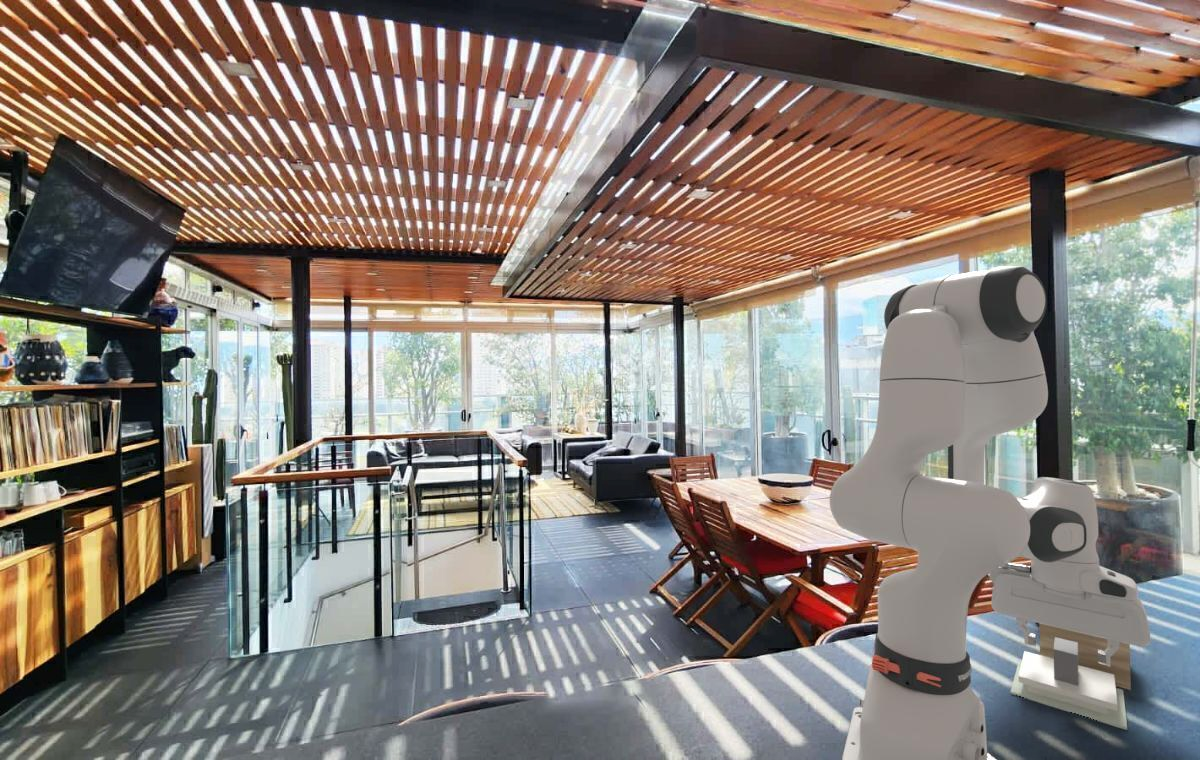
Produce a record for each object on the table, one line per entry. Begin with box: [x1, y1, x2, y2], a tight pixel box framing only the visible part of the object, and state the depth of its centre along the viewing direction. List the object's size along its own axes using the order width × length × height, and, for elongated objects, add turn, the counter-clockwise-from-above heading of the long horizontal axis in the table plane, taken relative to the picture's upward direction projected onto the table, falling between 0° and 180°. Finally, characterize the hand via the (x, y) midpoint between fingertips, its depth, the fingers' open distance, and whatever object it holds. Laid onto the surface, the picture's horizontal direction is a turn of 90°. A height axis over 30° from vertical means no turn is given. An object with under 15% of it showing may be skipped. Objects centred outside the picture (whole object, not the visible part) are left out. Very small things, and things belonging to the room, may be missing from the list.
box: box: [1038, 623, 1132, 691], centre depth 99 cm, size 12×12×8 cm
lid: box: [1019, 637, 1118, 715], centre depth 89 cm, size 12×12×8 cm
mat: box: [1010, 660, 1128, 731], centre depth 89 cm, size 14×14×1 cm
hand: (1066, 653), depth 89 cm, fingers open, 8 cm apart
